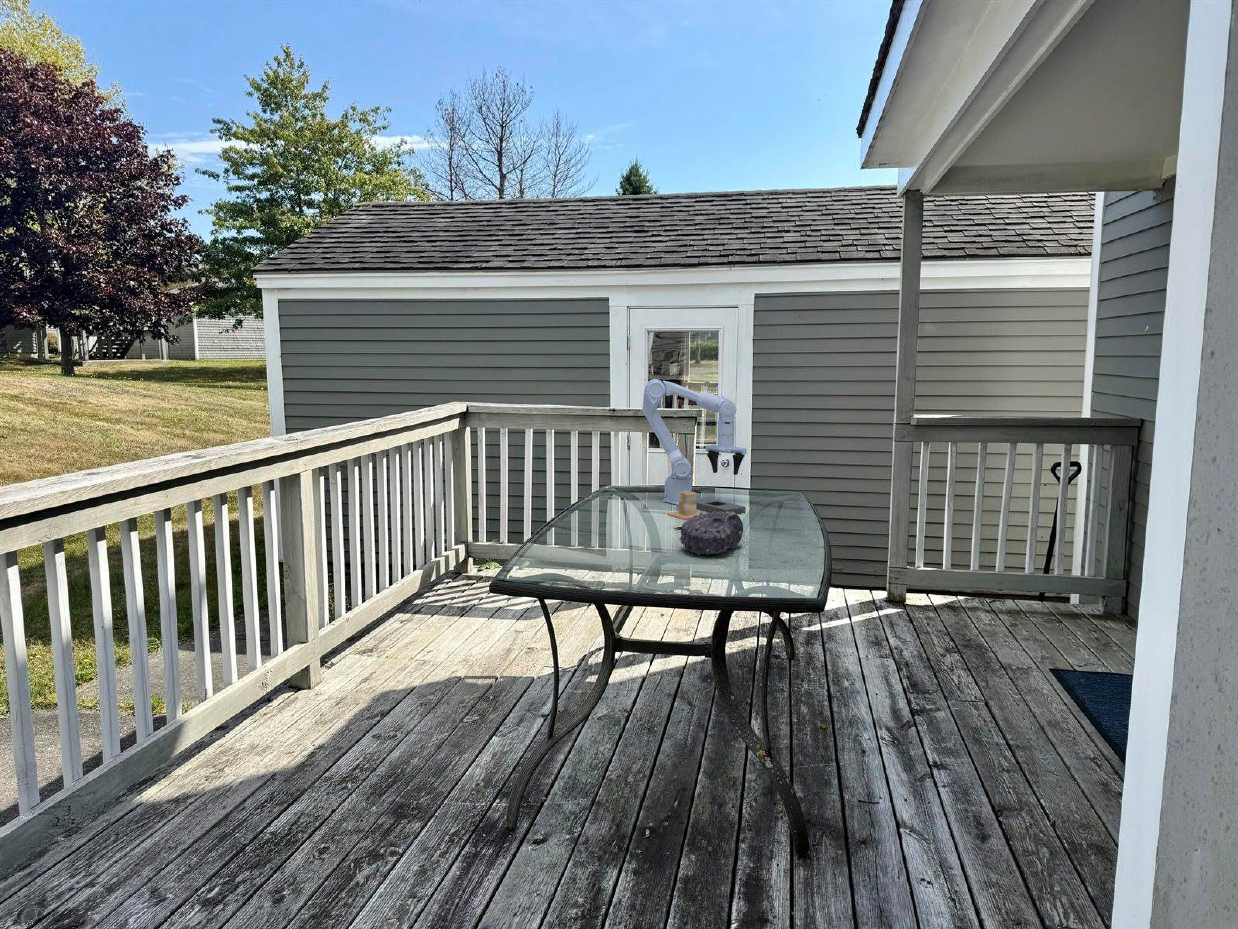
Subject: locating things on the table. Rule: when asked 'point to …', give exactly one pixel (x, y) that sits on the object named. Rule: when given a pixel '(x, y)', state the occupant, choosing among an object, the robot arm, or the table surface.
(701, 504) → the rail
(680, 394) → the robot arm
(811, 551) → the table surface
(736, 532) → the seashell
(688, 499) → the peg
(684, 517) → the tile
